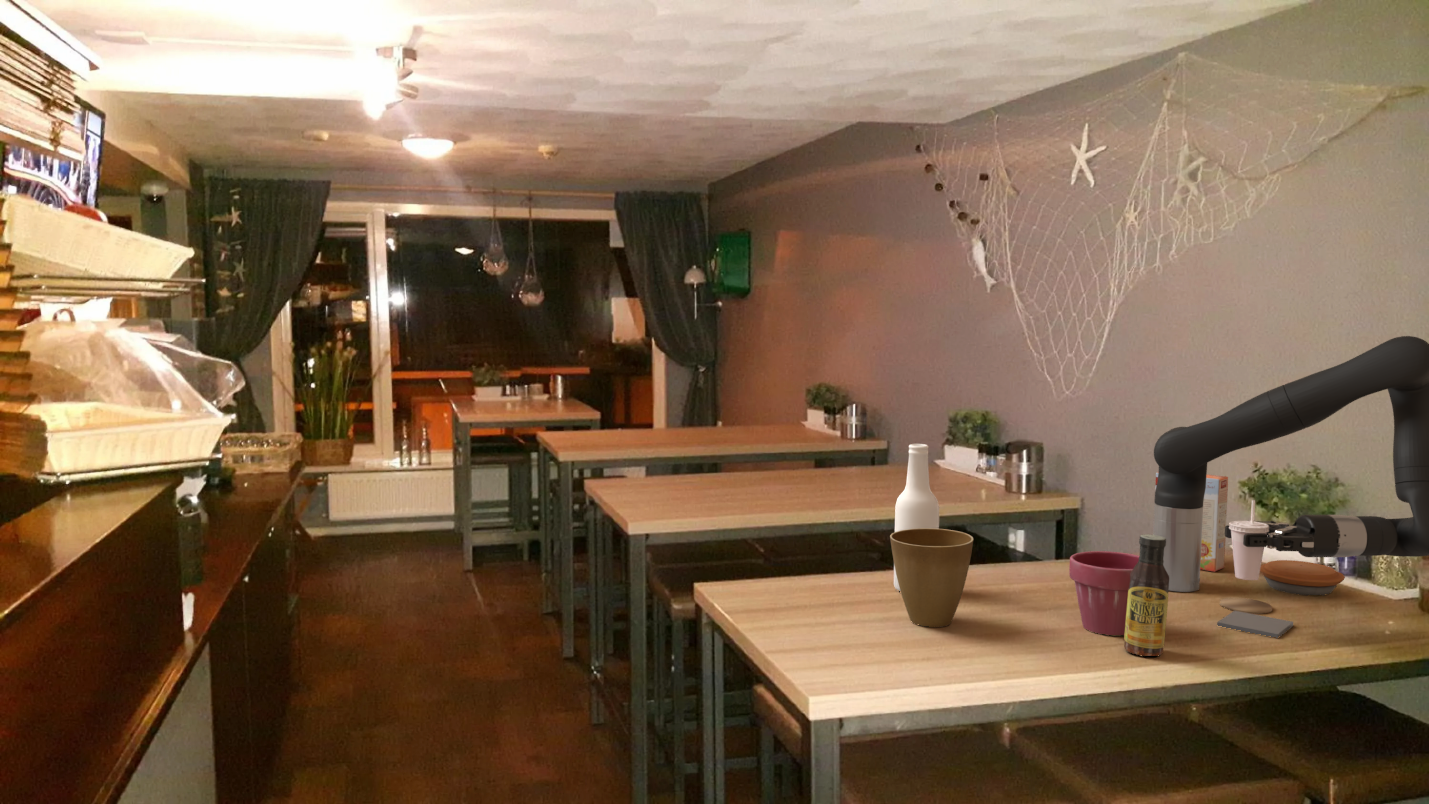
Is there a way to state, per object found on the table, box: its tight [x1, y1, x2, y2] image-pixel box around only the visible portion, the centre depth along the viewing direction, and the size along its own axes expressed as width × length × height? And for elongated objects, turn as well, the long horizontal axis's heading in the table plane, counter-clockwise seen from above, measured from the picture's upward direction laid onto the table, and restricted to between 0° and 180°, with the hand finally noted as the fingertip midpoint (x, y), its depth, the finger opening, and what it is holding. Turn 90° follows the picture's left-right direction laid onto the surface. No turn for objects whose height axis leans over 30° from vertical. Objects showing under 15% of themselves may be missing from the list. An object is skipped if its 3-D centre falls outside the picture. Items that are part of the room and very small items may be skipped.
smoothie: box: [1228, 499, 1269, 581], centre depth 183 cm, size 6×6×14 cm
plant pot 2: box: [1068, 550, 1140, 636], centre depth 184 cm, size 14×14×13 cm
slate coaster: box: [1216, 611, 1294, 639], centre depth 187 cm, size 10×10×1 cm
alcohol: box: [893, 443, 940, 591], centre depth 208 cm, size 9×9×30 cm
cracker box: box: [1154, 471, 1229, 573], centre depth 231 cm, size 14×6×21 cm, turn 44°
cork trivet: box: [1219, 596, 1273, 615], centre depth 199 cm, size 9×9×1 cm
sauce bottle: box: [1123, 534, 1169, 657], centre depth 171 cm, size 7×6×20 cm
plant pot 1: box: [889, 528, 974, 628], centre depth 188 cm, size 15×15×16 cm
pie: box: [1260, 559, 1346, 596], centre depth 213 cm, size 15×16×5 cm
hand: (1235, 535), depth 183 cm, fingers closed on smoothie, 6 cm apart
